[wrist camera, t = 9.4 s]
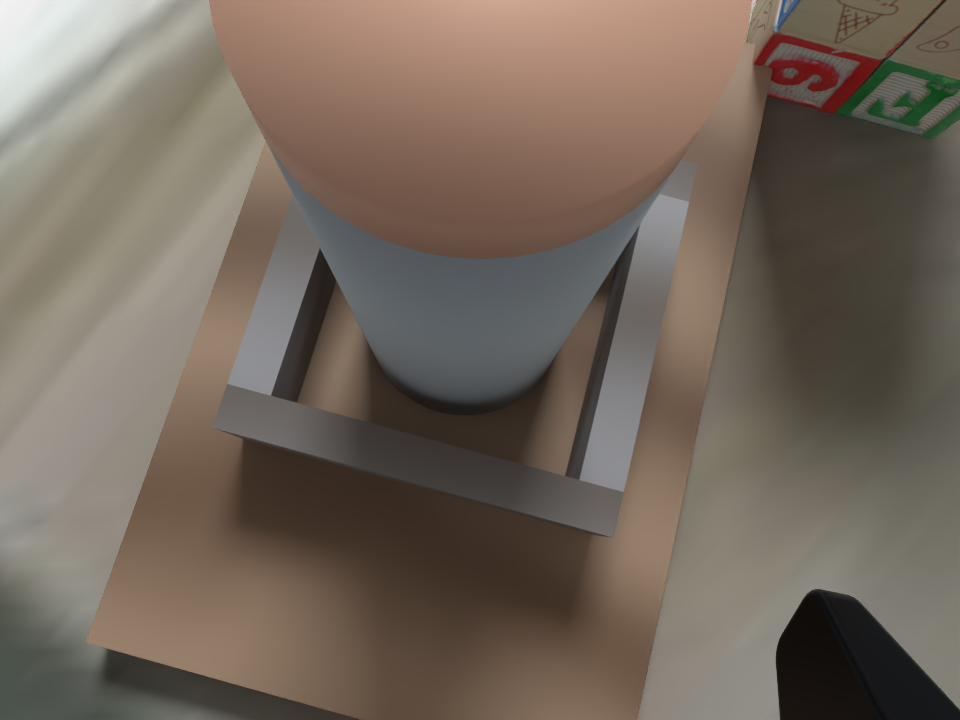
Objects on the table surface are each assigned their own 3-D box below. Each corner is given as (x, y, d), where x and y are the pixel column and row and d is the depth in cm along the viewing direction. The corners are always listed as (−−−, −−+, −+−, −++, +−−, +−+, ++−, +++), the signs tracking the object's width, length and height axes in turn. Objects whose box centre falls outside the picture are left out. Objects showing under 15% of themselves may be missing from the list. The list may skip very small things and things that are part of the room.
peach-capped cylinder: (484, 454, 19) (545, 334, 6) (328, 338, 19) (90, 5, 7) (597, 302, 20) (851, -76, 7) (446, 193, 20) (431, -341, 8)
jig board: (611, 775, 19) (648, 837, 15) (109, 634, 19) (27, 662, 15) (759, 74, 23) (817, -10, 19) (345, -34, 23) (324, -137, 19)
